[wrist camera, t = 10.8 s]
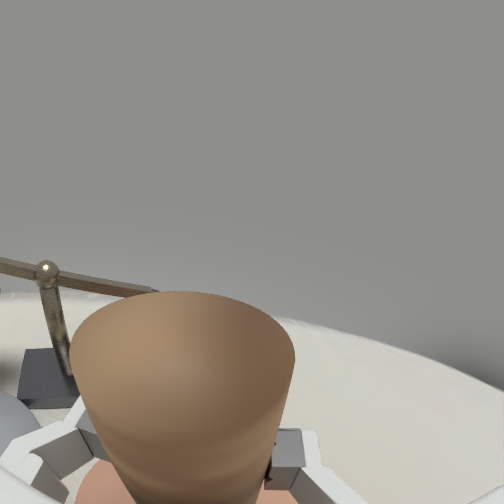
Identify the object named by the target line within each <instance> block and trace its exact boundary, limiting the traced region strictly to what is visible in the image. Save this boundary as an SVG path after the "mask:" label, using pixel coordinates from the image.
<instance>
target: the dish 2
mask: <svg viewBox="0 0 504 504" xmlns="http://www.w3.org/2000/svg"><path fill="white" fill-rule="evenodd" d="M75 504H136V503H135V501H134V500H133V498H132V497H131V495H130V493H129V492H128V490H127V489H126V487H125V485H124V484H123V482H122V480H121V479H120V477H119V475H118V474H117V472H116V470H115V468H114V467H113V465H112V463H111V462H108V461H104V460H101V459H100V460H99V461H98V462H97V463H96V464H95V465H94V466H93V467H92V468H91V470H90V471H89V472H88V473H87V475H86V476H85V478H84V480H83V482H82V483H81V485H80V488H79V490H78V493H77V496H76V501H75ZM256 504H298V502H297V501H296V500H295V499H294V497H293V496H292V495H291V494H290V492H289V491H280V490H264V480H263V483H262V486H261V489H260V492H259V495H258V498H257V501H256Z"/></svg>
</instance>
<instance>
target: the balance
mask: <svg viewBox="0 0 504 504" xmlns="http://www.w3.org/2000/svg"><path fill="white" fill-rule="evenodd" d="M0 273H4V274H7V275H12V276H16V277H20V278H24V279H29V280H33V281H35V283H36V285H37V286H38V287H39V290H40V295H41V300H42V305H43V309H44V314H45V318H46V322H47V326H48V330H49V334H50V337H51V341H52V344H53V348H42V349H26V350H25V355H24V359H23V364H22V369H21V375H20V380H19V386H18V393H17V399H18V400H20V401H21V402H22V403H23V404H24V405H25V406H26V407H27V408H28V409H50V408H70V407H73V405H74V404H75V402H76V401H77V399H78V398H79V396H80V392H79V390H78V387H77V384H76V381H75V378H74V375H73V372H72V369H71V365H70V361H69V349H70V341H69V337H68V333H67V329H66V324H65V320H64V315H63V310H62V305H61V300H60V294H59V288H58V286H62V287H67V288H72V289H78V290H83V291H88V292H94V293H100V294H106V295H112V296H118V297H124V298H128V297H132V296H135V295H141V294H146V293H154V292H160V291H158V290H154V289H151V287H148V286H142V285H136V284H130V283H123V282H118V281H112V280H107V279H101V278H96V277H91V276H85V275H80V274H75V273H70V272H65V271H60V270H59V269H58V267H57V265H56V264H55V263H53V262H52V261H48V260H44V261H41V262H40V263H38V264H37V265H33V264H28V263H24V262H19V261H15V260H11V259H6V258H3V257H0ZM0 291H1V290H0Z"/></svg>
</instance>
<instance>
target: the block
mask: <svg viewBox="0 0 504 504" xmlns="http://www.w3.org/2000/svg"><path fill="white" fill-rule="evenodd" d="M69 361H70V365H71V369H72V372H73V375H74V378H75V381H76V384H77V387H78V390H79V392H80V395H81V398H82V400H83V403H84V405H85V408H86V410H87V413H88V415H89V417H90V420H91V422H92V424H93V426H94V429H95V431H96V433H97V435H98V437H99V439H100V441H101V443H102V446H103V448H104V450H105V451H106V453H107V455H108V457H109V459H110V461H111V463H112V465H113V467H114V468H115V470H116V472H117V474H118V475H119V477H120V479H121V480H122V482H123V484H124V485H125V487H126V489H127V490H128V492H129V493H130V495H131V497H132V498H133V500H134V501H135V503H136V504H256V501H257V498H258V495H259V492H260V489H261V486H262V483H263V480H264V477H265V474H266V470H267V467H268V464H269V461H270V457H271V454H272V450H273V447H274V443H275V440H276V436H277V433H278V429H279V425H280V422H281V418H282V414H283V410H284V406H285V402H286V399H287V395H288V390H289V386H290V382H291V378H292V374H293V369H294V364H295V351H294V347H293V344H292V341H291V339H290V337H289V335H288V334H287V333H286V331H285V330H284V328H283V327H282V326H281V325H280V324H279V323H278V322H277V321H275V320H274V319H273V318H271V317H270V316H269V315H267V314H266V313H264V312H262V311H261V310H259V309H257V308H255V307H253V306H250V305H248V304H246V303H243V302H240V301H237V300H234V299H231V298H227V297H223V296H219V295H214V294H207V293H200V292H187V291H167V292H154V293H146V294H141V295H135V296H132V297H128V298H124V299H121V300H118V301H115V302H113V303H111V304H108V305H106V306H104V307H102V308H101V309H99V310H97V311H96V312H94V313H93V314H91V315H90V316H89V317H88V318H87V319H85V320H84V321H83V323H82V324H81V325H80V326H79V327H78V329H77V330H76V332H75V334H74V335H73V338H72V341H71V343H70V349H69Z"/></svg>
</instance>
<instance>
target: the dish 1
mask: <svg viewBox="0 0 504 504" xmlns="http://www.w3.org/2000/svg"><path fill="white" fill-rule="evenodd" d="M40 428H41V427H40V425H39V424H38V422H37V420H36V418H35V417H34V415H33V414H32V413H31V411H30V410H29V409H28V408H27V407H26V406H25V405H24V404H23V403H22V402H21V401H20V400H18V399H17V398H15V397H14V396H12V395H10V394H8V393H6V392H3V391H0V457H1V456H2V454H3V453H4V451H5V450H6V449H7V447H8V446H9V444H10V443H11V441H12V440H13V439H16V438H18V437H21V436H23V435H26V434H28V433H31V432H33V431H36V430H38V429H40Z"/></svg>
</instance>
